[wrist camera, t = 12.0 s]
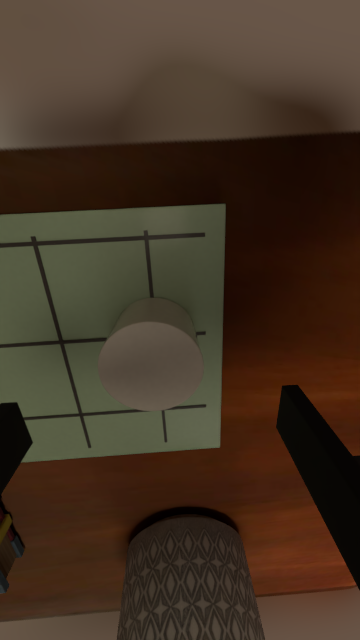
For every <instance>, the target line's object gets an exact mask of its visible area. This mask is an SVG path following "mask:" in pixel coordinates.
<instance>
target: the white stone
mask: <svg viewBox="0 0 360 640" xmlns="http://www.w3.org/2000/svg"><path fill="white" fill-rule="evenodd" d="M203 373H204V361H203V356H202V352H201V348H200V344H199V341H198V337H197V333H196V329H195V325H194V323H193V320H192V318H191V317H190V315H189V314H188V313H187V311H186V310H185V309H184V308H182V307H181V306H180V305H178V304H176V303H175V302H172V301H170V300H167V299H163V298H145V299H141V300H138V301H136V302H134V303H132V304H130V305H129V306H127V307H126V308H125V309H124V310H123V311H122V312H121V313H120V315H119V316H118V318H117V320H116V322H115V323H114V325H113V327H112V329H111V331H110V333H109V335H108V337H107V339H106V341H105V343H104V345H103V346H102V348H101V351H100V353H99V357H98V374H99V377H100V380H101V383H102V385H103V386H104V388H105V389H106V391H107V392H108V393H109V394H110V395H111V396H112V397H113V398H114V399H116V400H117V401H118V402H120V403H122V404H123V405H125V406H128V407H130V408H133V409H137V410H142V411H161V410H166V409H170V408H173V407H175V406H177V405H179V404H181V403H183V402H184V401H186V400H187V399H188V398H190V397H191V396H192V395H193V394H194V392H195V391H196V390H197V388H198V386H199V385H200V383H201V380H202V377H203Z"/></svg>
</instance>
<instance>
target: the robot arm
mask: <svg viewBox="0 0 360 640" xmlns="http://www.w3.org/2000/svg"><path fill="white" fill-rule="evenodd" d="M276 428H277V430H278V432H279V434H280V435H281V437H282V439H283V441H284V443H285V445H286V447H287V449H288V451H289V453H290V455H291V457H292V459H293V461H294V463H295V465H296V467H297V469H298V471H299V473H300V475H301V477H302V479H303V480H304V482H305V484H306V486H307V488H308V490H309V492H310V494H311V496H312V498H313V500H314V502H315V504H316V506H317V508H318V510H319V512H320V514H321V516H322V518H323V520H324V522H325V524H326V525H327V527H328V529H329V531H330V533H331V535H332V537H333V539H334V541H335V543H336V545H337V547H338V549H339V551H340V553H341V555H342V557H343V559H344V561H345V563H346V565H347V567H348V569H349V570H350V572H351V574H352V576H353V578H354V580H355V582H356V584H357V586H358V588H359V590H360V456H352V455H351V453H350V452H349V451H348V450H347V448H346V447H345V446H344V444H343V443H342V442H341V441H340V439H339V438H338V437H337V435H336V434H335V433H334V431H333V430H332V429H331V428H330V426H329V425H328V424H327V422H326V421H325V420H324V419H323V417H322V416H321V415H320V413H319V412H318V411H317V409H316V408H315V407H314V406H313V404H312V403H311V402H310V400H309V399H308V398H307V397H306V395H305V394H304V393H303V391H302V390H301V389H300V387H299V386H298V385H286V386H282V391H281V398H280V404H279V411H278V418H277V425H276ZM32 444H33V441H32V438H31V436H30V433H29V431H28V428H27V426H26V423H25V421H24V418H23V416H22V413H21V411H20V408H19V406H18V403H17V402H10V403H1V404H0V495H1V493H2V492H3V490H4V489H5V487H6V485H7V484H8V482H9V481H10V479H11V477H12V476H13V474H14V473H15V471H16V469H17V468H18V466H19V465H20V463H21V461H22V460H23V458H24V457H25V455H26V453H27V452H28V450H29V448H30V447H31V445H32Z"/></svg>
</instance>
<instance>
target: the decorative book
mask: <svg viewBox="0 0 360 640" xmlns="http://www.w3.org/2000/svg"><path fill="white" fill-rule="evenodd" d="M11 523H12V520H11V517H10V515H9V514H4V513H3V511H2V509H1V507H0V593H6V591H7V589H8V587H9V583H8V582H7V580H6V578H7V576H8V573H9V571H10V569H11V567H12V565H13V562H14V560H15V558H17V557H22V555H23V552H24V549H23V547H22V545H21V543H20V541H19V539H18V537H17V535H16V536H14V534H13V532H12V530H11V528H10V525H11Z"/></svg>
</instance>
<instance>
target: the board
mask: <svg viewBox="0 0 360 640" xmlns="http://www.w3.org/2000/svg"><path fill="white" fill-rule="evenodd" d="M225 217H226V204H205V205H185V206H165V207H145V208H125V209H105V210H85V211H64V212H44V213H24V214H4V215H0V404H1V403H10V402H17V403H18V406H19V408H20V411H21V413H22V416H23V418H24V421H25V423H26V426H27V428H28V431H29V433H30V436H31V438H32V441H33V444H32V445H31V447H30V448H29V450H28V452H27V453H26V455H25V457H24V458H23V460H22V461H21V462H34V461H47V460H60V459H73V458H86V457H99V456H112V455H126V454H139V453H152V452H165V451H178V450H191V449H204V448H218V447H220V424H221V383H222V341H223V300H224V258H225ZM145 298H163V299H167V300H170V301H172V302H175V303H176V304H178V305H180V306H181V307H182V308H184V309H185V310H186V311H187V313H188V314H189V315H190V317H191V318H192V320H193V323H194V325H195V329H196V333H197V337H198V341H199V344H200V348H201V352H202V356H203V361H204V373H203V377H202V380H201V383H200V385H199V386H198V388H197V390H196V391H195V392H194V394H193V395H192V396H191V397H190V398H188V399H187V400H186V401H184V402H183V403H181V404H179V405H177V406H175V407H173V408H170V409H166V410H161V411H142V410H137V409H133V408H130V407H128V406H125V405H123V404H122V403H120V402H118V401H117V400H116V399H114V398H113V397H112V396H111V395H110V394H109V393H108V392H107V391H106V389H105V388H104V386H103V385H102V383H101V380H100V377H99V374H98V357H99V353H100V351H101V348H102V346H103V345H104V343H105V341H106V339H107V337H108V335H109V333H110V331H111V329H112V327H113V325H114V323H115V322H116V320H117V318H118V316H119V315H120V313H121V312H122V311H123V310H124V309H125V308H126V307H127V306H129V305H130V304H132V303H134V302H136V301H138V300H141V299H145Z"/></svg>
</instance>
